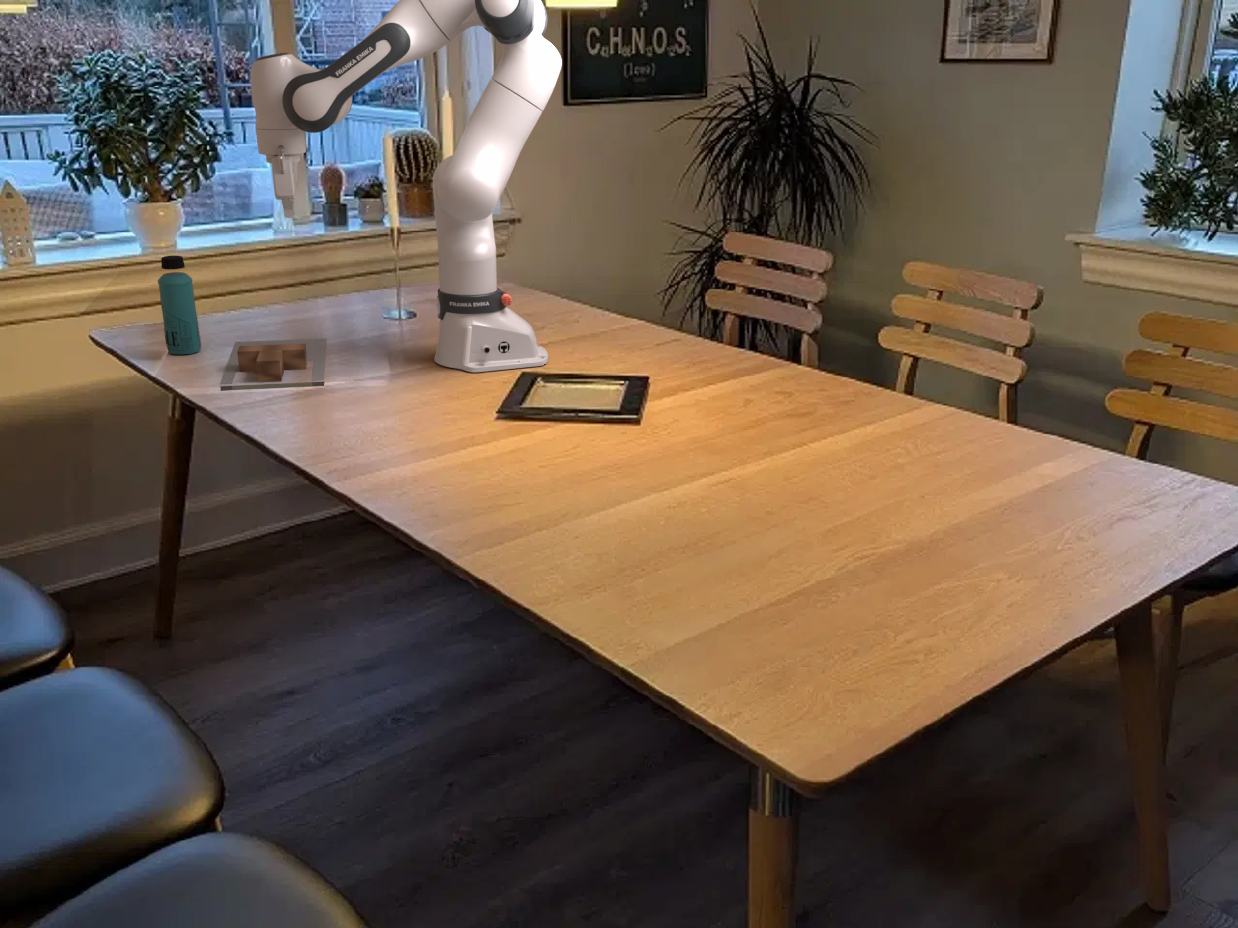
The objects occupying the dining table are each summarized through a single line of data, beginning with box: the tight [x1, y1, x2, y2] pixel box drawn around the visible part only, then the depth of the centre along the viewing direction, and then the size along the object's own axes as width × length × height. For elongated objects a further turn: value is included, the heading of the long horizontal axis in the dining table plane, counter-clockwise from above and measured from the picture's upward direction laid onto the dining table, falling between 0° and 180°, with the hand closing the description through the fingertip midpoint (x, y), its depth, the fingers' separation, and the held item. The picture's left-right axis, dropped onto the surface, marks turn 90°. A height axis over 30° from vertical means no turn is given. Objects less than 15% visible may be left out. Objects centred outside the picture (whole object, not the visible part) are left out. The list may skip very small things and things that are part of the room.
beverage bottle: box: [157, 255, 202, 355], centre depth 215 cm, size 6×7×20 cm
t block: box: [237, 344, 308, 383], centre depth 206 cm, size 12×11×4 cm
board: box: [219, 338, 327, 392], centre depth 215 cm, size 18×29×1 cm, turn 13°
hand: (289, 216), depth 218 cm, fingers closed
